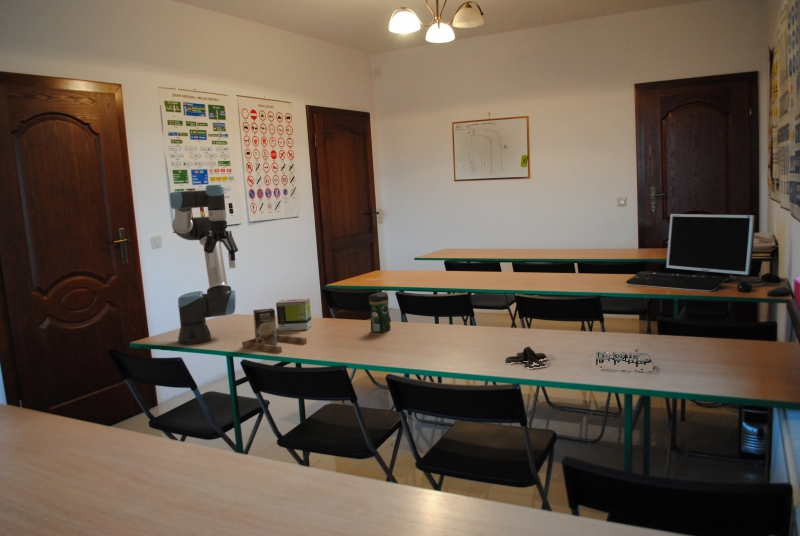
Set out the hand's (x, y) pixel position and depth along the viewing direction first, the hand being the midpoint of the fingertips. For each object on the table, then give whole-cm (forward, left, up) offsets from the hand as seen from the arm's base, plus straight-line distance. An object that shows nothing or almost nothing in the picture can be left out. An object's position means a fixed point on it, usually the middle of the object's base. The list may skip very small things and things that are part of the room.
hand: (222, 267), depth 260 cm
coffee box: (+12, +11, -37) cm, 40 cm away
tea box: (+2, +40, -37) cm, 55 cm away
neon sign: (+160, +49, -37) cm, 171 cm away
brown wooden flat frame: (+18, +11, -37) cm, 42 cm away
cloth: (+130, +34, -38) cm, 140 cm away
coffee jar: (+47, +52, -37) cm, 79 cm away
